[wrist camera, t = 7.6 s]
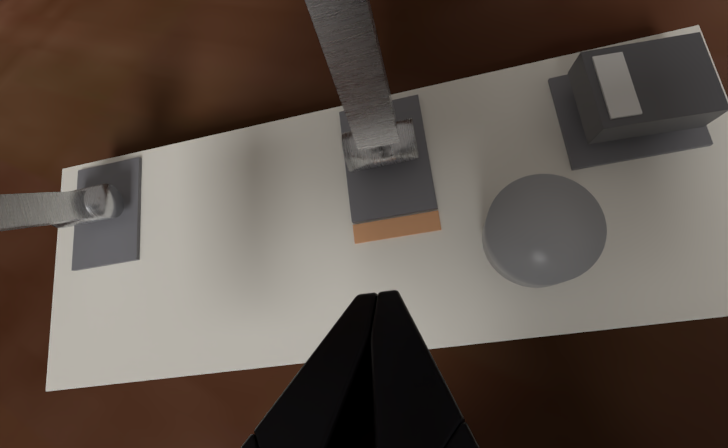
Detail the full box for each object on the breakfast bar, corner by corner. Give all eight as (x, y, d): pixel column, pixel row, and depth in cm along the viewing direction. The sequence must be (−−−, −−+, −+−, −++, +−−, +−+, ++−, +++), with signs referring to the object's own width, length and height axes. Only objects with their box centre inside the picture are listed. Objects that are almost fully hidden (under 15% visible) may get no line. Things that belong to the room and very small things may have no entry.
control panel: (745, 309, 16) (815, 307, 13) (100, 381, 21) (41, 392, 18) (661, 69, 19) (701, 21, 16) (109, 186, 24) (59, 167, 21)
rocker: (703, 126, 14) (731, 108, 13) (588, 144, 14) (604, 127, 13) (677, 54, 15) (701, 30, 14) (567, 72, 15) (581, 50, 14)
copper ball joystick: (422, 176, 16) (332, -297, 6) (352, 189, 16) (176, -232, 7) (414, 131, 17) (333, -305, 8) (351, 144, 18) (206, -251, 8)
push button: (598, 280, 14) (620, 274, 12) (492, 294, 15) (498, 290, 13) (572, 183, 15) (590, 164, 13) (474, 201, 16) (476, 184, 14)
